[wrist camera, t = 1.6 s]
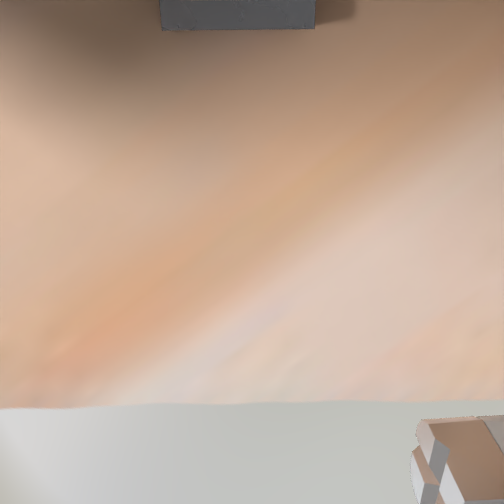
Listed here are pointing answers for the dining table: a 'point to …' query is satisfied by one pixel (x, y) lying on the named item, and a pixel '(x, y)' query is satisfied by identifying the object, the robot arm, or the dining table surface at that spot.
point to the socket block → (237, 14)
